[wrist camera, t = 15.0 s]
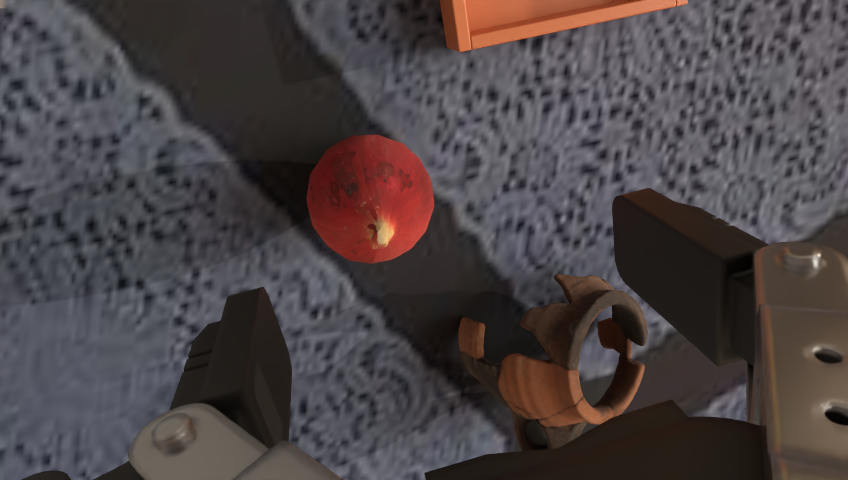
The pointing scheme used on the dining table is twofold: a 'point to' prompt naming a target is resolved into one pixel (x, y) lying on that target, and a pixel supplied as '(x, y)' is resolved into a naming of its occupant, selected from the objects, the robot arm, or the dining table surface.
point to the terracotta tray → (531, 18)
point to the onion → (370, 198)
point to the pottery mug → (561, 363)
